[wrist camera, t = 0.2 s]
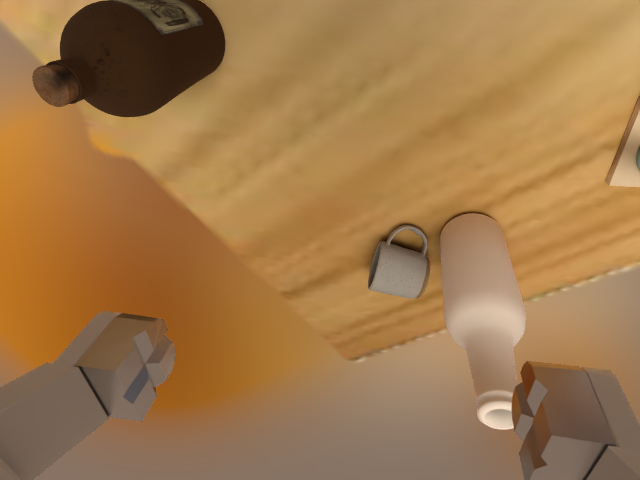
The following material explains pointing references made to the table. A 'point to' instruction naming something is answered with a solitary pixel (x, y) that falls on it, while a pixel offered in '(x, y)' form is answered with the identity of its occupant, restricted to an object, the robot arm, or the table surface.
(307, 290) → the table surface
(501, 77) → the table surface
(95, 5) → the olive oil
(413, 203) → the table surface
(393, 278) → the ceramic mug
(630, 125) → the gear board
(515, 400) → the robot arm
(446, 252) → the alcohol
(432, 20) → the table surface
